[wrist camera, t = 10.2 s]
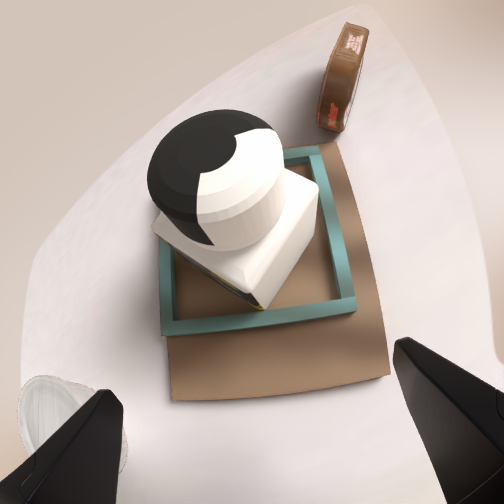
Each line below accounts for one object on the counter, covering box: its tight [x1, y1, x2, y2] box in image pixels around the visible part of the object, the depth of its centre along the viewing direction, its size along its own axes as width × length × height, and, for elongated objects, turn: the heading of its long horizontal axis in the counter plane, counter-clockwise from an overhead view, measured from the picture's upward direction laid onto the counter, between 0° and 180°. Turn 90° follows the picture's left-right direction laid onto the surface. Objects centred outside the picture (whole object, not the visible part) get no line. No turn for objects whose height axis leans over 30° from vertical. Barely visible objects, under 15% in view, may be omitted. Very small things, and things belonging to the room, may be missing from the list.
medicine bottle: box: [147, 109, 319, 311], centre depth 17 cm, size 7×7×12 cm
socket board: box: [159, 142, 391, 400], centre depth 22 cm, size 20×16×2 cm
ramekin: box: [17, 375, 128, 473], centre depth 18 cm, size 11×11×5 cm
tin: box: [316, 22, 369, 132], centre depth 24 cm, size 15×3×8 cm, turn 158°
